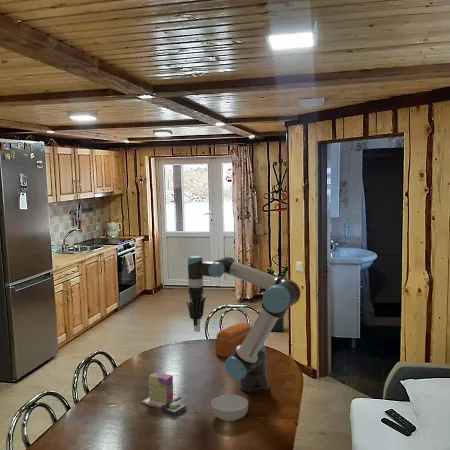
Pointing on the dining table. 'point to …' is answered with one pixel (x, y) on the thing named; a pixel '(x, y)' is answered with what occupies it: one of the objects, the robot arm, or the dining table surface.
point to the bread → (231, 339)
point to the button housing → (175, 412)
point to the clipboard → (158, 402)
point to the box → (161, 387)
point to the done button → (173, 405)
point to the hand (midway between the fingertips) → (197, 331)
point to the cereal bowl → (229, 407)
